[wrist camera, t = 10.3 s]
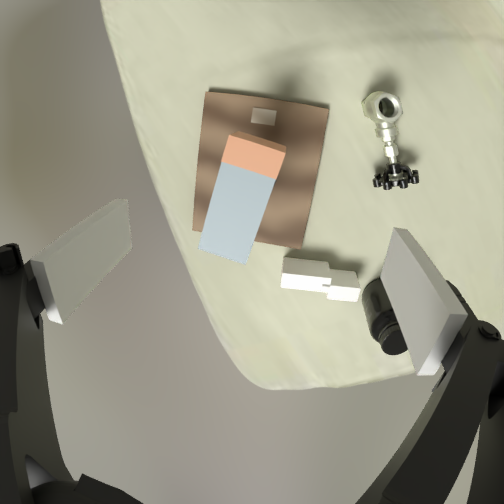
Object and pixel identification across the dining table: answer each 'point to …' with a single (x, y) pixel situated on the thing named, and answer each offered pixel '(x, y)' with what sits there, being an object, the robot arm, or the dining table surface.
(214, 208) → the blue-orange block
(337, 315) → the dining table surface
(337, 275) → the white stepped block
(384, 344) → the supplement bottle
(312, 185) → the board
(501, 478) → the robot arm
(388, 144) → the valve
